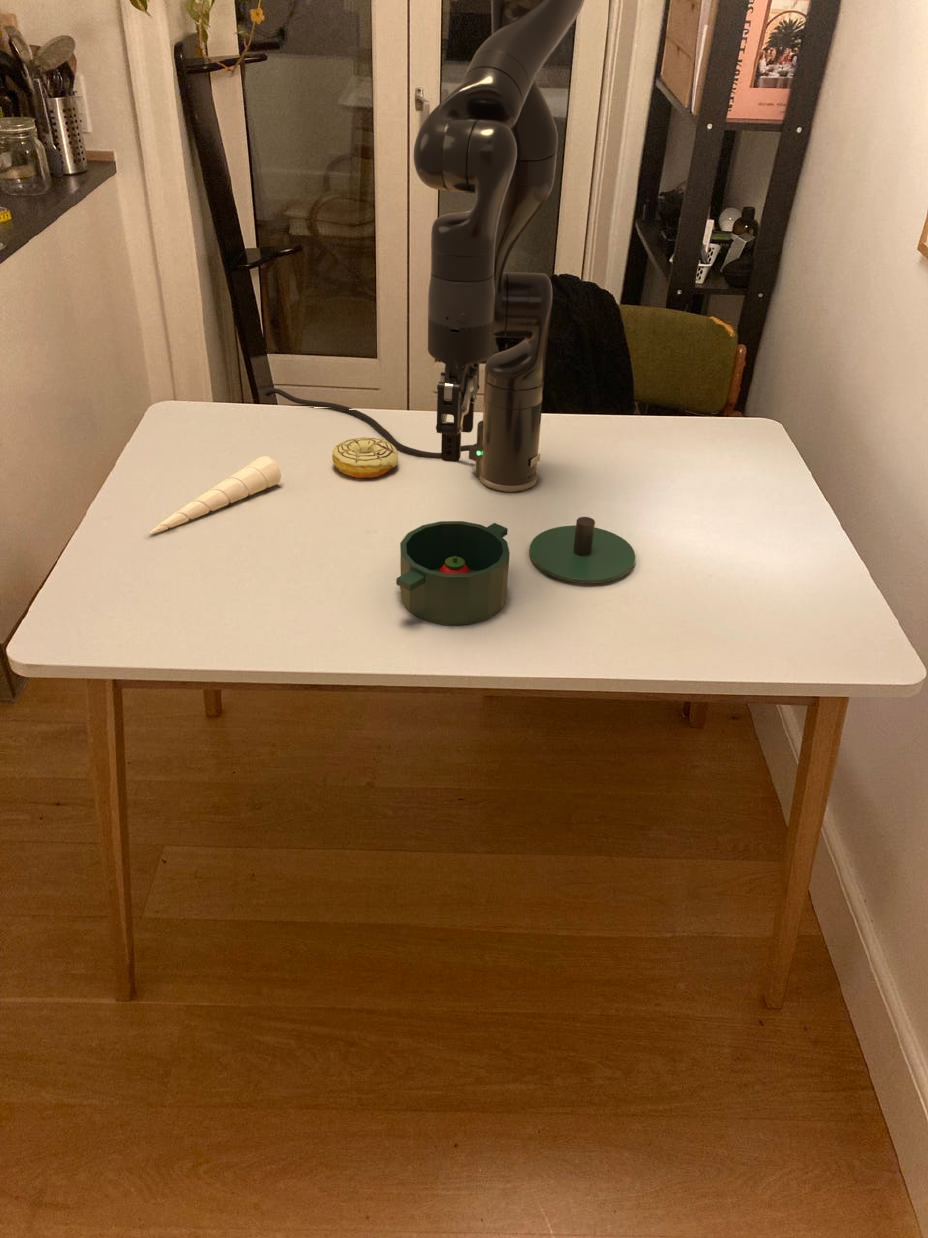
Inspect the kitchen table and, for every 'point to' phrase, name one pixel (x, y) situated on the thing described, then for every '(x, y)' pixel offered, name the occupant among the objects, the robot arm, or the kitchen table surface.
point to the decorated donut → (365, 457)
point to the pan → (454, 593)
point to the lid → (582, 553)
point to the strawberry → (454, 566)
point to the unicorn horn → (228, 491)
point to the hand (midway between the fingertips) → (457, 445)
